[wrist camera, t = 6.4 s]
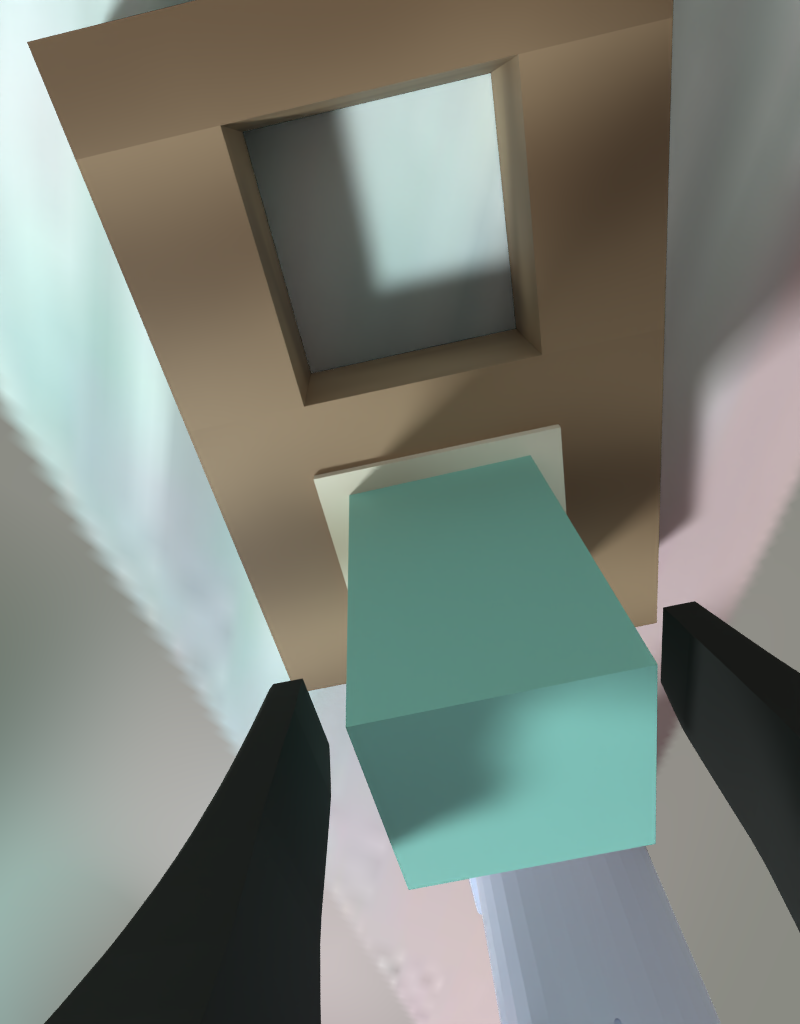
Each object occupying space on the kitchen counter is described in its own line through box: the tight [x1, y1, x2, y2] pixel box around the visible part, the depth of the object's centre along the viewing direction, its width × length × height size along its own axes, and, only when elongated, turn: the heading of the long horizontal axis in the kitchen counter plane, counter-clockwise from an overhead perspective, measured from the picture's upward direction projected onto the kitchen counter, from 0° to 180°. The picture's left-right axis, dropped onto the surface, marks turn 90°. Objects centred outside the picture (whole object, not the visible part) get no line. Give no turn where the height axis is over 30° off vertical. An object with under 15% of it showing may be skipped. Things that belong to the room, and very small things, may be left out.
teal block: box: [346, 455, 657, 890], centre depth 13 cm, size 4×4×7 cm
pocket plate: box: [27, 0, 673, 691], centre depth 15 cm, size 16×11×3 cm
